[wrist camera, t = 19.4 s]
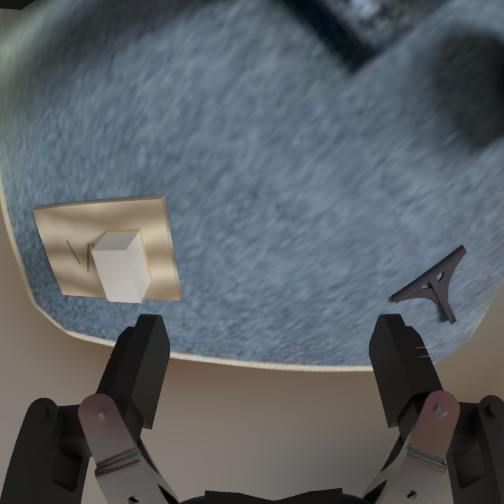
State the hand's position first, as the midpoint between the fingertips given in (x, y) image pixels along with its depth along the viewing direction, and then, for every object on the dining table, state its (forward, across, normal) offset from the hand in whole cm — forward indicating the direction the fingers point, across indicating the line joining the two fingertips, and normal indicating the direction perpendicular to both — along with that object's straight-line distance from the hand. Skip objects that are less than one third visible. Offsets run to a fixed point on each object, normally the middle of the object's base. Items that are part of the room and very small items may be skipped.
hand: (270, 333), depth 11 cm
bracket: (+28, -31, +23) cm, 48 cm away
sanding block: (+26, +18, +13) cm, 35 cm away
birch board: (+28, +23, +14) cm, 39 cm away
